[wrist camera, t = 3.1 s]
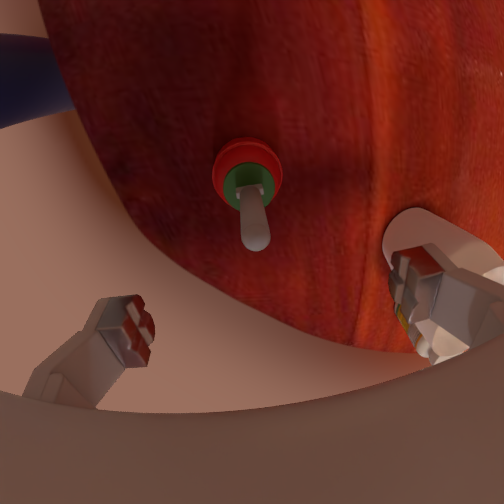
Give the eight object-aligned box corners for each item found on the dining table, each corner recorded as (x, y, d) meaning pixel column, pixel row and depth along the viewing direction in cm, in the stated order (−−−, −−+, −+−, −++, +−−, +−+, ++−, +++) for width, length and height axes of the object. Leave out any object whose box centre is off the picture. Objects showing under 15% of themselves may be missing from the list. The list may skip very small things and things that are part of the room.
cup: (435, 180, 23) (522, 242, 12) (445, 250, 27) (508, 319, 17) (359, 220, 25) (427, 308, 14) (381, 287, 29) (430, 372, 19)
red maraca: (221, 202, 23) (210, 300, 13) (208, 143, 21) (178, 197, 10) (282, 191, 23) (320, 282, 13) (273, 131, 20) (313, 172, 10)
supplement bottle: (389, 319, 32) (420, 380, 23) (398, 285, 29) (438, 347, 21) (423, 311, 32) (457, 366, 23) (434, 278, 29) (476, 333, 21)
